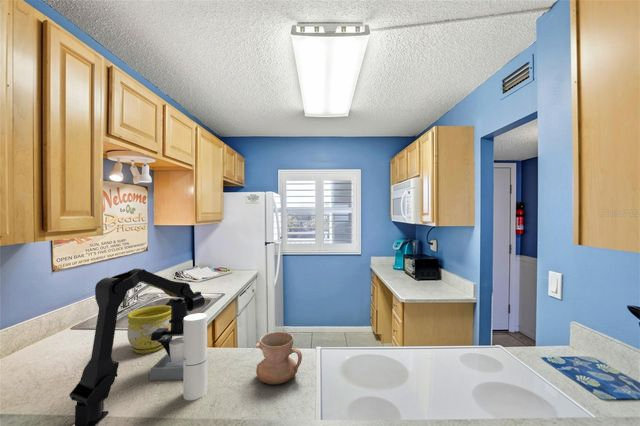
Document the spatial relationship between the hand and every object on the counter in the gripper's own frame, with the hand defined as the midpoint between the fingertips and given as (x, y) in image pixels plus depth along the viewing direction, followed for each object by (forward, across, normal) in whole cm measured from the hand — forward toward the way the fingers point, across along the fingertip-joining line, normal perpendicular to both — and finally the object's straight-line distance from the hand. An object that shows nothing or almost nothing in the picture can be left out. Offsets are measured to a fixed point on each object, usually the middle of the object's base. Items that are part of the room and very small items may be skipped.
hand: (178, 355), depth 106 cm
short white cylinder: (+1, 0, 0) cm, 1 cm away
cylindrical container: (+5, -12, +16) cm, 21 cm away
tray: (+5, 0, 0) cm, 5 cm away
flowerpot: (+5, +22, -21) cm, 31 cm away
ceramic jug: (+5, -39, +9) cm, 40 cm away
